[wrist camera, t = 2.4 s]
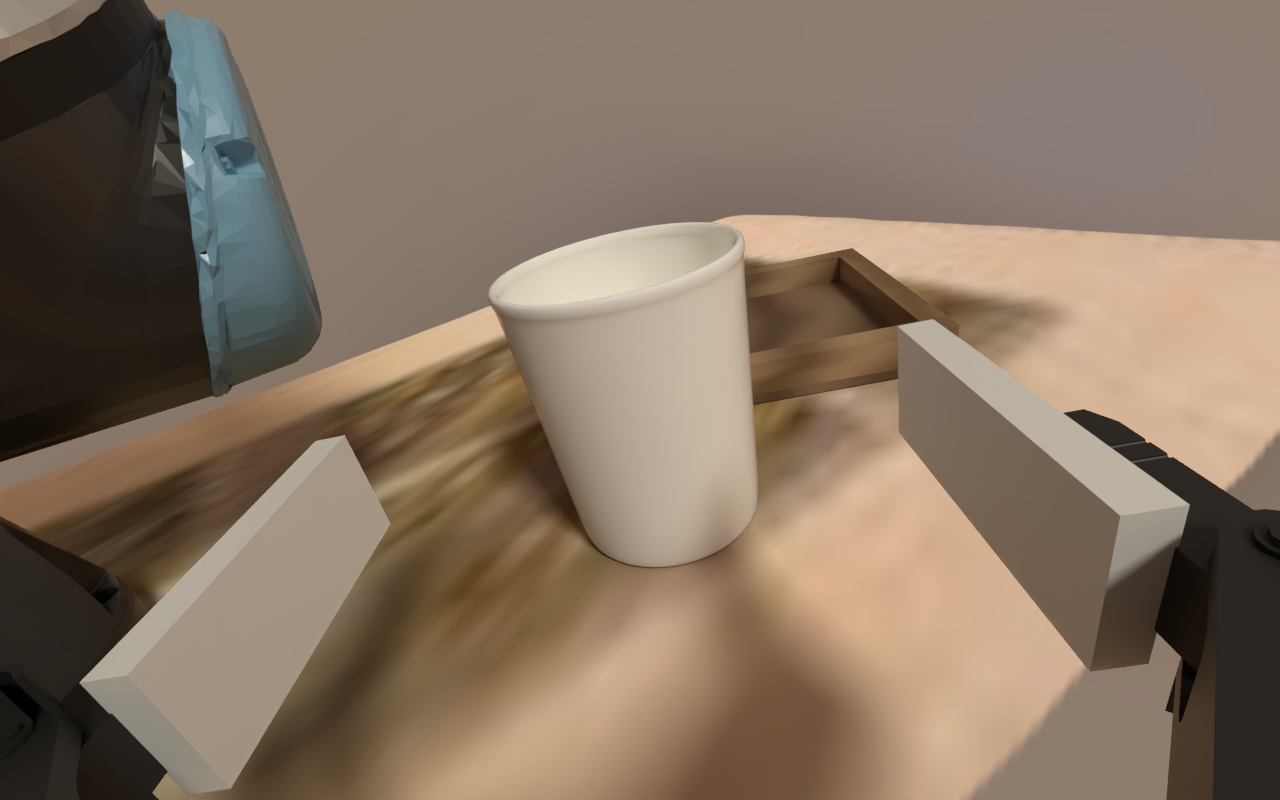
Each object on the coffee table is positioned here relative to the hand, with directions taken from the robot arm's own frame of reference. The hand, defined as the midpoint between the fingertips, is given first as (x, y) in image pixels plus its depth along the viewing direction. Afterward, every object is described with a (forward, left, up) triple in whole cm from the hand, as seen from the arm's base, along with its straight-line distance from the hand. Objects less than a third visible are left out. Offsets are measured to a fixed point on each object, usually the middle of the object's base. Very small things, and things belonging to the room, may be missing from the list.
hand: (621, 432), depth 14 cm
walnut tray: (+8, +27, -10) cm, 30 cm away
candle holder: (0, +10, -11) cm, 15 cm away
